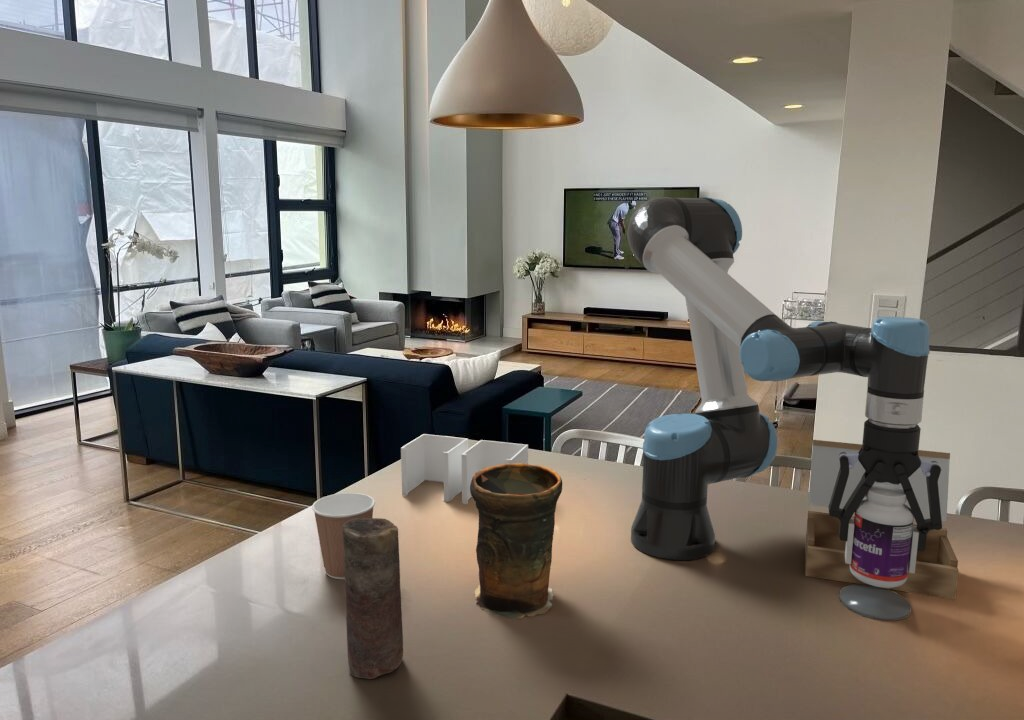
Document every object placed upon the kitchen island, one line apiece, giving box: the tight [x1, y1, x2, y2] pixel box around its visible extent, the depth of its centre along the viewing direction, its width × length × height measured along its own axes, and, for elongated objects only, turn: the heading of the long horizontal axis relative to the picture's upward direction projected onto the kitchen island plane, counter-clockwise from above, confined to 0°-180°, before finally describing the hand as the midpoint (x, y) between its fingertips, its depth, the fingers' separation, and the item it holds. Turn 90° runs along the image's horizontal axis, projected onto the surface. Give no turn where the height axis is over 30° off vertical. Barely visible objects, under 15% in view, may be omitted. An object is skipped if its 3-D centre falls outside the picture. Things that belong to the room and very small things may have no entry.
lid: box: [808, 439, 951, 523], centre depth 133 cm, size 22×12×1 cm
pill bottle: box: [850, 484, 915, 589], centre depth 114 cm, size 8×8×14 cm
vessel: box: [470, 463, 563, 620], centre depth 117 cm, size 14×14×20 cm
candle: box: [343, 517, 404, 680], centre depth 99 cm, size 8×7×20 cm
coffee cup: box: [311, 492, 376, 580], centre depth 126 cm, size 10×10×12 cm
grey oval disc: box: [839, 584, 912, 621], centre depth 117 cm, size 10×10×1 cm
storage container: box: [400, 433, 529, 505], centre depth 162 cm, size 25×11×11 cm, turn 71°
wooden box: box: [804, 510, 959, 600], centre depth 127 cm, size 22×12×7 cm, turn 69°
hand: (878, 564), depth 115 cm, fingers closed on pill bottle, 8 cm apart
